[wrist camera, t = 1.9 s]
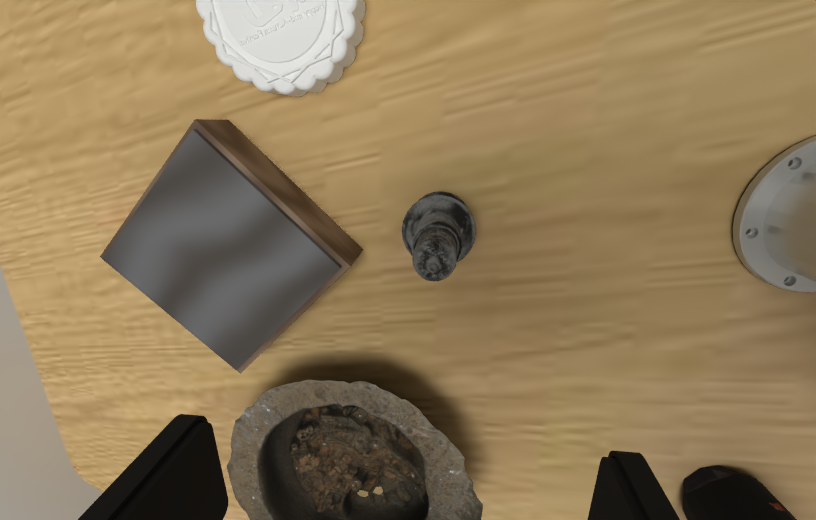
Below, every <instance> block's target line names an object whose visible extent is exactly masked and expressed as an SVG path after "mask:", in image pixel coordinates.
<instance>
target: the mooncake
mask: <svg viewBox="0 0 816 520" xmlns="http://www.w3.org/2000/svg"><path fill="white" fill-rule="evenodd" d="M196 8H197V11H198V13H199V15H200V16H201V18H202V19H203V20H205V21H204V25H203V30H204V34H205V36H206V38H207V40H208V41H209V42H210V43H211V44H213V45H215V46H216V54H217V56H218V58H219V60H220V61H221V62H222V63H223V64H225V65H226V66H229V67H232V68H233V71H234V74H235V75H236V76H237V78H239V79H240V80H242V81H244V82H248V83H253V84H254V85H255V86H256V87H257V88H258V89H259V90H261V91H264V92H270V93H275V94H284V95H290V96H295V97H300V96H303V95H305V94H306V93H307V92H312V93H319V92H321V91H323V90H324V89H325V87H326V85H327V82H328V83H335V82H337V81H338V80H339V79H340V78H341V77H342V74H343V68H344V67H348V66H350V65H351V64H352V63H353V62H354V60H355V57H356V50H355V47H356V46H357V45H359V44H360V42H361V41H362V39H363V35H364V31H363V26H362V24H361V21H362V19H363V18H364V16H365V11H366V7H365V3H364V1H363V0H196Z"/></svg>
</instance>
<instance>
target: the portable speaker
mask: <svg viewBox="0 0 816 520" xmlns="http://www.w3.org/2000/svg"><path fill="white" fill-rule="evenodd" d="M683 511H684V514H685V516H686V518H687V520H796V519H795V517H794V516H793V515H792V514H791V513H790V512H789V511H788V510H787V509H786V508H785V507H784V506H783V505H782V504H781V503H780V502H779V501H778V500H777V499H776V498H775V497H774V496H773V495H772V494H771V493H770V492H769V491H768V490H767V488H766V487H765V486H764V485H763V484H762V483H760V482H759V481H758V480H757V479H756V478H752V477H750V476H747V475H743V474H739V473H735V472H731V471H729V470H727V469H725V468H723V467H721V466H716V467H709V468H702V469H699V470H698V471H696V472H695V473H693V474H692V475H690V476H689V477H688V478H686V479H685V480H684V499H683Z"/></svg>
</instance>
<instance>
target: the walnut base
mask: <svg viewBox="0 0 816 520" xmlns="http://www.w3.org/2000/svg"><path fill="white" fill-rule="evenodd" d="M362 250H363V249H362V248H361V247H360V246H359V245H358V244H357V243H356V242H355V241H354V240H353V239H351V238H350V237H349V236H348V235H347V234H346V233H345V232H344V231H343V230H342V229H341V228H340V227H339V226H338V225H337V224H336V223H335V222H334V221H333V220H332V219H331V218H330V217H329V216H328V215H327V214H326V213H324V212H323V211H322V210H321V209H320V208H319V207H318V206H317V205H316V204H315V203H314V202H313V201H312V200H311V199H310V198H309V197H308V196H307V195H306V194H305V193H304V192H303V191H302V190H301V189H300V188H298V187H297V186H296V185H295V184H294V183H293V182H292V181H291V180H290V179H289V178H288V177H287V176H286V175H285V174H284V173H283V172H282V171H281V170H280V169H279V168H278V167H277V166H276V165H275V164H274V163H272V162H271V161H270V160H269V159H268V158H267V157H266V156H265V155H264V154H263V153H262V152H261V151H260V150H259V149H258V148H257V147H256V146H255V145H254V144H253V143H252V142H251V141H250V140H249V139H248V138H247V137H245V136H244V135H243V134H242V133H241V132H240V131H239V130H238V129H237V128H236V127H235V126H234V125H233V124H232V123H231V122H230V121H229V120H199V119H195V120H194V122H193V123H192V124H191V126H190V127H189V129H188V130H187V132H186V133H185V135H184V136H183V137H182V139H181V140H180V142H179V143H178V145H177V146H176V148H175V149H174V150H173V152H172V153H171V155H170V156H169V158H168V159H167V161H166V162H165V163H164V165H163V166H162V168H161V169H160V171H159V172H158V174H157V175H156V176H155V178H154V179H153V181H152V182H151V184H150V185H149V187H148V188H147V189H146V191H145V192H144V194H143V195H142V197H141V198H140V200H139V201H138V203H137V204H136V205H135V207H134V208H133V210H132V211H131V213H130V214H129V216H128V217H127V218H126V220H125V221H124V223H123V224H122V226H121V227H120V229H119V230H118V231H117V233H116V234H115V236H114V237H113V239H112V240H111V242H110V243H109V244H108V246H107V247H106V249H105V250H104V252H103V253H102V255H101V256H100V257H101V258H102V259H103V260H104V261H105V262H107V263H108V264H109V265H110V266H111V267H113V268H114V269H115V270H116V271H117V272H119V273H120V274H121V275H122V276H123V277H125V278H126V279H127V280H128V281H129V282H131V283H132V284H133V285H134V286H135V287H137V288H138V289H139V290H140V291H142V292H143V293H144V294H145V295H146V296H148V297H149V298H150V299H151V300H152V301H154V302H155V303H156V304H157V305H158V306H160V307H161V308H162V309H163V310H164V311H166V312H167V313H168V314H169V315H170V316H172V317H173V318H174V319H175V320H176V321H178V322H179V323H180V324H181V325H182V326H184V327H185V328H186V329H187V330H188V331H190V332H191V333H192V334H193V335H194V336H196V337H197V338H198V339H199V340H200V341H202V342H203V343H204V344H205V345H207V346H208V347H209V348H210V349H211V350H213V351H214V352H215V353H216V354H217V355H219V356H220V357H221V358H222V359H223V360H225V361H226V362H227V363H228V364H229V365H231V366H232V367H233V368H234V369H235V370H237V371H238V372H239V373H240V374H241V373H242V372H243V371H244V370H245V369H246V368H247V367H248V366H249V365H250V364H251V363H252V362H253V361H254V360H255V359H256V358H257V357H258V356H259V355H260V354H261V353H262V352H263V351H264V350H265V349H266V348H267V347H268V346H269V345H270V344H271V343H272V342H273V341H274V340H275V339H276V338H278V337H279V336H280V335H281V334H282V333H283V332H284V331H285V330H286V329H287V328H288V327H289V326H290V325H291V324H292V323H293V322H294V321H295V320H296V319H297V318H298V317H299V316H300V315H301V314H302V313H303V312H304V311H305V310H306V309H307V308H308V307H309V306H310V305H311V304H312V303H313V302H314V301H315V300H317V299H318V298H319V297H320V296H321V295H322V294H323V293H324V292H325V291H326V290H327V289H328V288H329V287H330V286H331V285H332V284H333V283H334V282H335V281H336V280H337V279H338V278H339V277H340V276H341V275H342V274H343V273H344V272H345V271H346V270H347V269H348V268H349V267H350V266H351V265H352V264H353V262H354V261H355V260H356V258H357V257H358V256H359V254H360V253H361V251H362Z"/></svg>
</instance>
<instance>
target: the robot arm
mask: <svg viewBox="0 0 816 520" xmlns="http://www.w3.org/2000/svg"><path fill="white" fill-rule="evenodd" d="M733 243H734V246H735V249H736V252H737V255H738V257H739V258H740V260H741V262H742V263H743V265H744V266H745V267H746V268H747V269H748V270H749V271H750V272H751V273H752V274H753V275H755V276H756V277H758V278H760V279H762V280H763V281H765V282H767V283H769V284H771V285H774V286H776V287H778V288H781V289H785V290H789V291H794V292H808V293H812V292H816V136H814V137H811V138H808V139H806V140H804V141H802V142H800V143H798V144H796V145H794V146H792V147H790V148H789V149H787V150H786V151H784V152H783V153H781V154H780V155H778V156H777V157H775V158H774V159H773V160H772V161H771V162H770V163H769V164H767V165H766V166H765V167H764V168H763V169H762V170H761V171H760V172H759V173H758V175H757V176H756V177H755V178H754V179H753V181H752V182H751V183H750V184H749V186H748V187H747V189H746V191H745V192H744V194H743V196H742V198H741V199H740V202H739V205H738V207H737V210H736V213H735V217H734V223H733ZM227 507H228V496H227V491H226V487H225V482H224V478H223V473H222V469H221V464H220V460H219V455H218V450H217V446H216V441H215V437H214V432H213V428H212V425H211V424H210V423H208V422H207V419H206V418H205V417H204V416H197V415H185V414H180V415H178V416H176V417H175V418H174V419H173V420H172V421H171V422H170V423H169V424H168V425H167V426H166V427H165V428H164V429H163V431H162V432H161V433H160V434H159V435H158V436H157V437H156V438H155V439H154V440H153V441H152V442H151V443H150V444H149V445H148V446H147V447H146V448H145V449H144V450H143V452H142V453H141V454H140V455H139V456H138V457H137V458H136V459H135V460H134V461H133V462H132V463H131V464H130V465H129V466H128V467H127V468H126V469H125V470H124V471H123V473H122V474H121V475H120V476H119V477H118V478H117V479H116V480H115V481H114V482H113V483H112V484H111V485H110V486H109V487H108V488H107V489H106V490H105V491H104V493H103V494H102V495H101V496H100V497H99V498H98V499H97V500H96V501H95V502H94V503H93V504H92V505H91V506H90V507H89V508H88V509H87V510H86V512H85V513H84V514H83V515H82V516H81V517H80V518H79V519H78V520H223V518H224V516H225V514H226V511H227ZM588 520H680V519H679V517H678V516H677V514H676V512H675V510H674V509H673V507H672V505H671V503H670V502H669V500H668V498H667V496H666V495H665V493H664V491H663V489H662V488H661V486H660V484H659V482H658V481H657V479H656V477H655V476H654V474H653V472H652V470H651V469H650V467H649V465H648V463H647V462H646V460H645V458H644V457H643V456H642V455H641V454H640V453H634V452H622V451H611V452H610V453H609V456H608V457H602V459H601V462H600V466H599V471H598V475H597V480H596V484H595V489H594V493H593V498H592V502H591V507H590V511H589V516H588Z"/></svg>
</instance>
